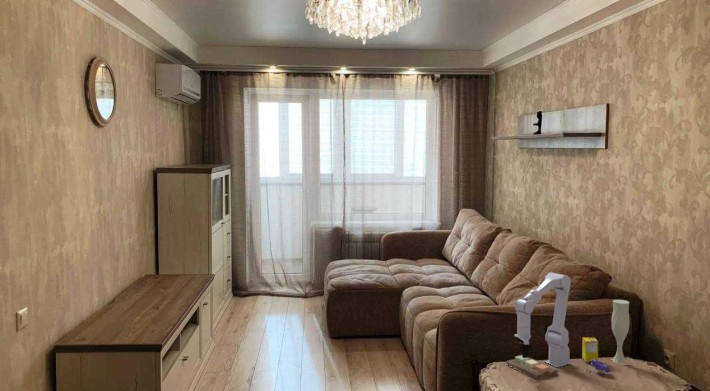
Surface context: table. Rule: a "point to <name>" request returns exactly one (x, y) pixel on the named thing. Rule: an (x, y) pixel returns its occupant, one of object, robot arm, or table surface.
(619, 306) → the vase
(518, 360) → the sage button
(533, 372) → the button panel
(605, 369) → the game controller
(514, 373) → the table surface
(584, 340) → the supplement box
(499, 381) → the table surface
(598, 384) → the table surface
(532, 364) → the cream button
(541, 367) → the terracotta button
